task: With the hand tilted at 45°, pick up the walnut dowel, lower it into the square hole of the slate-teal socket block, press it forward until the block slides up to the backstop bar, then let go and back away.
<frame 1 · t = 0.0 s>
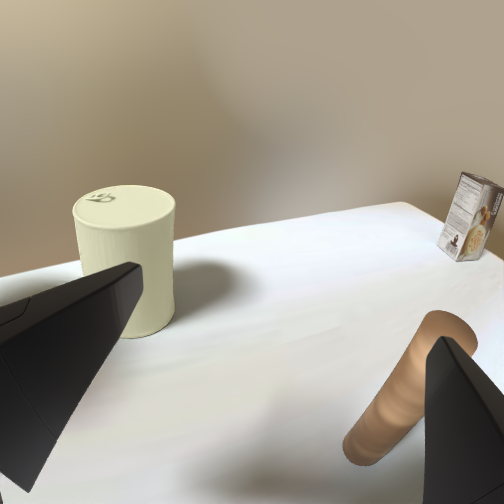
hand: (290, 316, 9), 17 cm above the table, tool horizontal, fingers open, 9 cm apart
dowel: (363, 447, 21), on the table
can: (131, 308, 31), on the table
coffee box: (457, 253, 55), on the table
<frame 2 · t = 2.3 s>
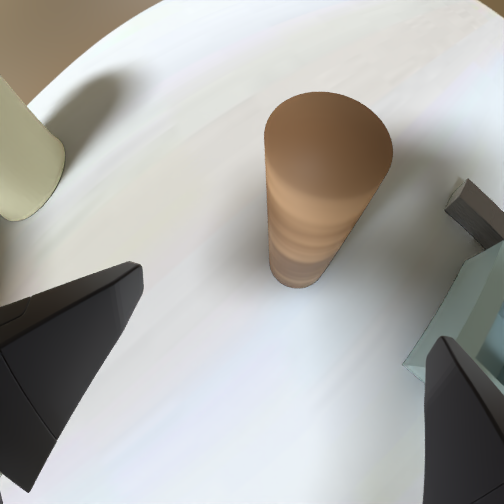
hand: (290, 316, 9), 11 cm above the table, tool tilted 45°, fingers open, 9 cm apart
dowel: (297, 260, 21), on the table
can: (30, 177, 25), on the table
socket block: (496, 345, 16), point 3 cm above the table, slide at 0.0 cm
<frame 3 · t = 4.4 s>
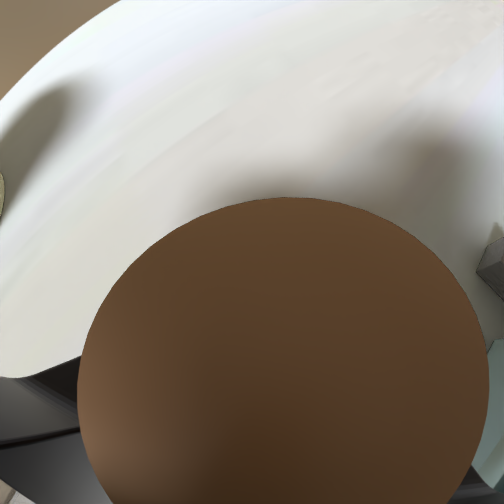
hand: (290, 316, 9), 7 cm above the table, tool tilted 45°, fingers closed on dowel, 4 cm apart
dowel: (275, 355, 15), on the table, touching gripper
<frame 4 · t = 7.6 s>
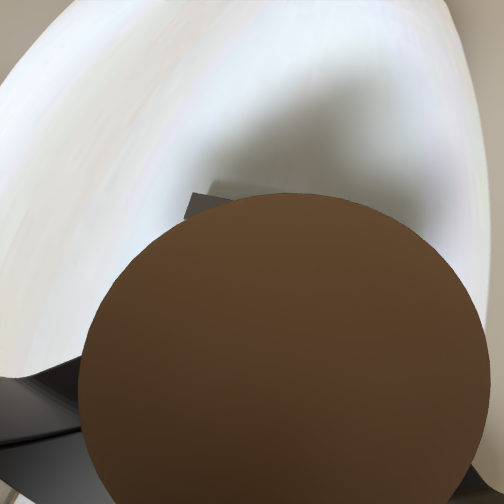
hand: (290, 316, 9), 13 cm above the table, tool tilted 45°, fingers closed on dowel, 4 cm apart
dowel: (275, 354, 15), point 7 cm above the table, touching gripper
backstop bar: (301, 242, 23), on the table
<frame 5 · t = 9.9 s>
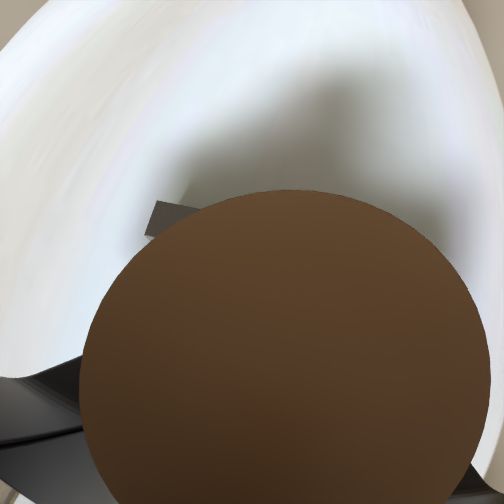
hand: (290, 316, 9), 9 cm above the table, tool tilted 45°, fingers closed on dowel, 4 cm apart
dowel: (275, 355, 15), point 2 cm above the table, touching gripper
backstop bar: (297, 264, 18), on the table
when the fingers open (8 cm above the table, at t = 10.8 s): dowel stays where it is, resting on socket block.
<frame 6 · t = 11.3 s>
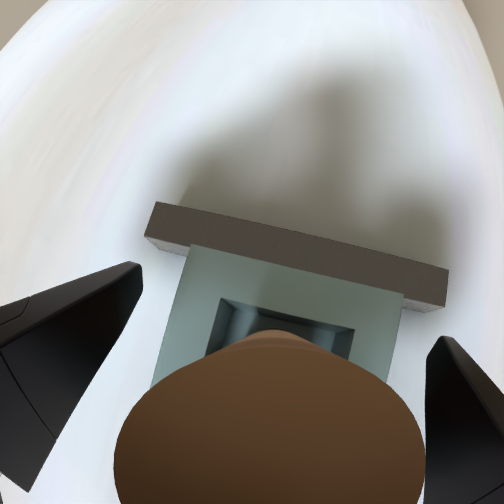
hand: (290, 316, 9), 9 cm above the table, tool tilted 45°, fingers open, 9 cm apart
dowel: (273, 363, 15), point 1 cm above the table, touching socket block
backstop bar: (297, 265, 18), on the table
socket block: (270, 375, 14), point 2 cm above the table, slide at 1.9 cm, touching dowel
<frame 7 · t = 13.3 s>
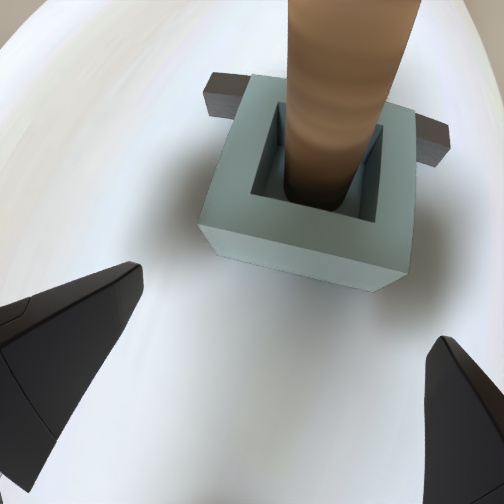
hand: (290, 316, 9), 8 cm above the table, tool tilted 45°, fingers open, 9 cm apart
dowel: (315, 186, 18), point 1 cm above the table, touching socket block
backstop bar: (326, 124, 20), on the table
socket block: (317, 180, 16), point 3 cm above the table, slide at 1.9 cm, touching dowel
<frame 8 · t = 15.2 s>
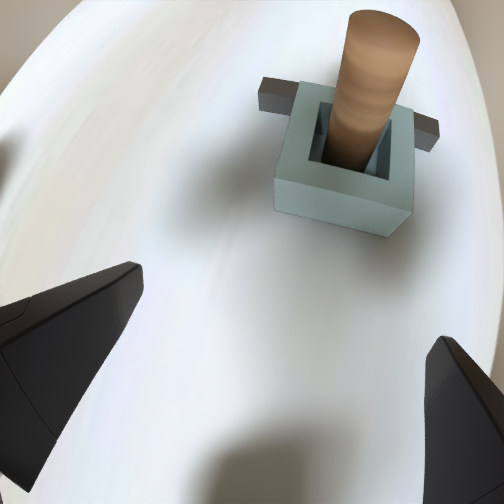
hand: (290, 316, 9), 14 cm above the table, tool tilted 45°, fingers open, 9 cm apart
dowel: (343, 162, 24), point 1 cm above the table, touching socket block
backstop bar: (348, 119, 26), on the table
socket block: (346, 156, 22), point 2 cm above the table, slide at 1.9 cm, touching dowel
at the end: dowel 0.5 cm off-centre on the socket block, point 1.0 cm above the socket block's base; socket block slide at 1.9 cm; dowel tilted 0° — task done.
